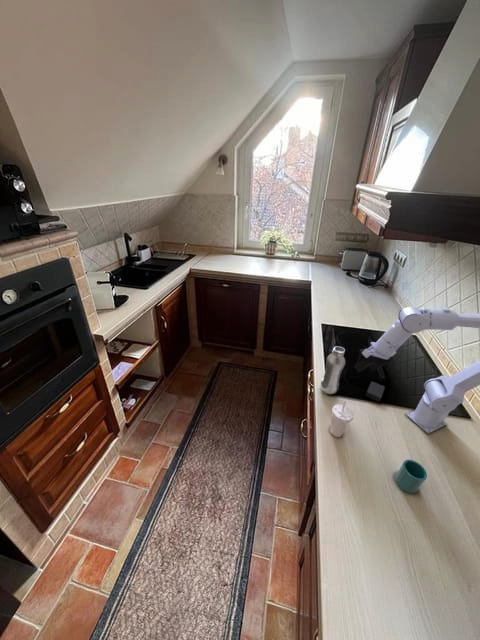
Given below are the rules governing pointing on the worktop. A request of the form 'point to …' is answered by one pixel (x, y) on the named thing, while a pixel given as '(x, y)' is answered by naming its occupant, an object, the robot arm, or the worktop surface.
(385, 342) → the robot arm
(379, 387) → the black tile
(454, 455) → the worktop surface
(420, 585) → the worktop surface
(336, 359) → the plastic bottle
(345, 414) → the smoothie
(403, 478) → the teal cup
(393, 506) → the worktop surface
